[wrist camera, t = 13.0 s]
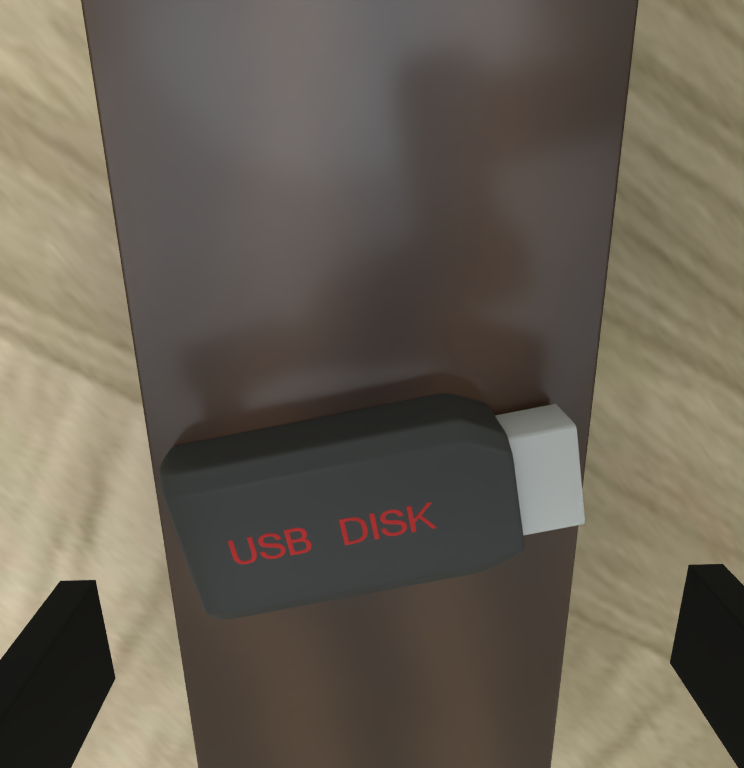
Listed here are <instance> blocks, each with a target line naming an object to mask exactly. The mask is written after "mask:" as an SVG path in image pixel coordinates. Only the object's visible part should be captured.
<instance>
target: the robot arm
mask: <svg viewBox="0 0 744 768" xmlns="http://www.w3.org/2000/svg"><path fill="white" fill-rule="evenodd" d="M670 664H671V665H672V667H673V668H674V670H675V671H676V673H677V674H678V676H679V677H680V679H681V680H682V682H683V683H684V685H685V687H686V688H687V690H688V691H689V693H690V694H691V696H692V697H693V699H694V700H695V702H696V703H697V705H698V707H699V708H700V710H701V711H702V713H703V714H704V716H705V717H706V719H707V720H708V722H709V723H710V725H711V726H712V728H713V730H714V731H715V733H716V734H717V736H718V737H719V739H720V740H721V742H722V743H723V745H724V746H725V748H726V749H727V751H728V753H729V754H730V756H731V757H732V759H733V760H734V762H735V763H736V765H737V766H738V768H744V586H743V584H742V583H741V582H740V581H739V580H738V579H737V578H736V577H735V576H734V575H733V574H732V573H731V572H730V571H729V570H728V569H727V568H726V567H725V566H724V565H723V564H704V565H689V566H688V571H687V577H686V582H685V587H684V592H683V597H682V603H681V608H680V613H679V618H678V623H677V629H676V634H675V639H674V644H673V650H672V655H671V660H670ZM114 680H115V674H114V669H113V664H112V659H111V654H110V649H109V644H108V639H107V634H106V629H105V625H104V620H103V615H102V610H101V605H100V600H99V595H98V590H97V585H96V580H79V581H60V582H59V583H58V585H57V586H56V587H55V589H54V590H53V591H52V593H51V594H50V595H49V597H48V598H47V599H46V600H45V602H44V603H43V604H42V606H41V607H40V608H39V610H38V611H37V612H36V614H35V615H34V616H33V618H32V619H31V620H30V622H29V623H28V624H27V625H26V627H25V628H24V629H23V631H22V632H21V633H20V635H19V636H18V637H17V639H16V640H15V641H14V643H13V644H12V645H11V647H10V648H9V649H8V650H7V652H6V653H5V654H4V656H3V657H2V658H1V660H0V768H71V767H72V765H73V763H74V761H75V759H76V757H77V755H78V753H79V751H80V749H81V746H82V744H83V742H84V740H85V738H86V736H87V734H88V732H89V730H90V728H91V726H92V724H93V722H94V720H95V718H96V716H97V714H98V712H99V710H100V708H101V706H102V704H103V702H104V700H105V698H106V696H107V694H108V692H109V690H110V688H111V686H112V684H113V682H114Z"/></svg>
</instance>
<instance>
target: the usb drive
mask: <svg viewBox="0 0 744 768" xmlns="http://www.w3.org/2000/svg"><path fill="white" fill-rule="evenodd" d="M159 473H160V480H161V489H162V496H163V500H164V503H165V505H166V508H167V511H168V514H169V517H170V519H171V522H172V525H173V528H174V530H175V533H176V536H177V539H178V542H179V544H180V547H181V550H182V553H183V556H184V558H185V561H186V564H187V567H188V569H189V572H190V575H191V578H192V581H193V583H194V586H195V589H196V592H197V595H198V597H199V600H200V603H201V606H202V608H203V610H204V611H205V612H206V613H207V614H209V615H210V616H211V617H213V618H214V619H233V618H239V617H246V616H251V615H257V614H262V613H267V612H273V611H278V610H283V609H289V608H294V607H299V606H305V605H310V604H315V603H321V602H326V601H331V600H337V599H342V598H348V597H353V596H358V595H364V594H369V593H374V592H380V591H385V590H390V589H396V588H401V587H406V586H412V585H417V584H422V583H428V582H433V581H438V580H444V579H449V578H454V577H460V576H465V575H470V574H475V573H480V572H483V571H486V570H488V569H491V568H493V567H495V566H497V565H499V564H501V563H503V562H505V561H507V560H509V559H511V558H513V557H515V556H517V555H519V554H521V553H522V551H523V550H524V549H525V545H524V536H523V535H529V534H534V533H539V532H544V531H550V530H555V529H560V528H566V527H571V526H576V525H582V524H585V517H584V505H583V494H582V483H581V471H580V460H579V449H578V437H577V428H576V425H575V423H574V422H573V421H572V420H571V419H570V418H569V417H568V416H567V415H566V414H565V413H564V412H563V411H562V410H561V409H560V408H559V407H558V406H557V405H556V404H552V405H547V406H542V407H536V408H531V409H526V410H521V411H516V412H511V413H506V414H501V415H494V413H493V411H492V410H491V408H490V407H489V405H488V404H487V403H484V402H480V401H477V400H473V399H469V398H465V397H462V396H458V395H454V394H450V393H444V394H437V395H431V396H426V397H421V398H416V399H411V400H406V401H401V402H396V403H391V404H386V405H380V406H375V407H370V408H365V409H360V410H355V411H350V412H345V413H340V414H335V415H330V416H325V417H320V418H314V419H309V420H304V421H299V422H294V423H289V424H284V425H279V426H274V427H269V428H264V429H259V430H254V431H248V432H243V433H238V434H233V435H228V436H223V437H218V438H213V439H208V440H203V441H198V442H193V443H188V444H183V445H179V446H175V447H173V448H171V449H170V450H169V452H168V453H167V455H166V456H165V458H164V459H163V461H162V463H161V466H160V469H159Z"/></svg>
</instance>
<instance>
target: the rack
mask: <svg viewBox="0 0 744 768" xmlns="http://www.w3.org/2000/svg"><path fill="white" fill-rule="evenodd" d="M81 3H82V9H83V16H84V22H85V29H86V35H87V42H88V48H89V55H90V61H91V68H92V75H93V81H94V88H95V94H96V101H97V107H98V114H99V120H100V127H101V134H102V140H103V147H104V153H105V160H106V166H107V173H108V179H109V186H110V192H111V199H112V206H113V212H114V219H115V225H116V232H117V238H118V245H119V251H120V258H121V264H122V271H123V278H124V284H125V291H126V297H127V304H128V310H129V317H130V323H131V330H132V336H133V343H134V350H135V356H136V363H137V369H138V376H139V382H140V389H141V395H142V402H143V408H144V415H145V422H146V428H147V435H148V441H149V448H150V454H151V461H152V467H153V474H154V480H155V487H156V494H157V500H158V507H159V513H160V520H161V526H162V533H163V539H164V546H165V553H166V559H167V566H168V572H169V579H170V585H171V592H172V598H173V605H174V611H175V618H176V625H177V631H178V638H179V644H180V651H181V657H182V664H183V670H184V677H185V683H186V690H187V697H188V703H189V710H190V716H191V723H192V729H193V736H194V742H195V749H196V755H197V762H198V768H551V759H552V750H553V742H554V733H555V724H556V715H557V707H558V698H559V689H560V680H561V672H562V663H563V654H564V645H565V637H566V628H567V619H568V611H569V602H570V593H571V584H572V576H573V567H574V558H575V549H576V541H577V532H578V525H576V526H571V527H566V528H560V529H555V530H550V531H544V532H539V533H534V534H529V535H523V536H524V545H525V549H524V550H523V551H522V553H521V554H519V555H517V556H515V557H513V558H511V559H509V560H507V561H505V562H503V563H501V564H499V565H497V566H495V567H493V568H491V569H488V570H486V571H483V572H480V573H475V574H470V575H465V576H460V577H454V578H449V579H444V580H438V581H433V582H428V583H422V584H417V585H412V586H406V587H401V588H396V589H390V590H385V591H380V592H374V593H369V594H364V595H358V596H353V597H348V598H342V599H337V600H331V601H326V602H321V603H315V604H310V605H305V606H299V607H294V608H289V609H283V610H278V611H273V612H267V613H262V614H257V615H251V616H246V617H239V618H233V619H214V618H213V617H211V616H210V615H209V614H207V613H206V612H205V611H204V610H203V608H202V606H201V603H200V600H199V597H198V595H197V592H196V589H195V586H194V583H193V581H192V578H191V575H190V572H189V569H188V567H187V564H186V561H185V558H184V556H183V553H182V550H181V547H180V544H179V542H178V539H177V536H176V533H175V530H174V528H173V525H172V522H171V519H170V517H169V514H168V511H167V508H166V505H165V503H164V500H163V496H162V489H161V480H160V473H159V469H160V466H161V463H162V461H163V459H164V458H165V456H166V455H167V453H168V452H169V450H170V449H171V448H173V447H175V446H179V445H183V444H188V443H193V442H198V441H203V440H208V439H213V438H218V437H223V436H228V435H233V434H238V433H243V432H248V431H254V430H259V429H264V428H269V427H274V426H279V425H284V424H289V423H294V422H299V421H304V420H309V419H314V418H320V417H325V416H330V415H335V414H340V413H345V412H350V411H355V410H360V409H365V408H370V407H375V406H380V405H386V404H391V403H396V402H401V401H406V400H411V399H416V398H421V397H426V396H431V395H437V394H444V393H450V394H454V395H458V396H462V397H465V398H469V399H473V400H477V401H480V402H484V403H487V404H488V405H489V407H490V408H491V410H492V411H493V413H494V415H501V414H506V413H511V412H516V411H521V410H526V409H531V408H536V407H542V406H547V405H552V404H556V405H557V406H558V407H559V408H560V409H561V410H562V411H563V412H564V413H565V414H566V415H567V416H568V417H569V418H570V419H571V420H572V421H573V422H574V423H575V425H576V428H577V437H578V449H579V460H580V471H581V483H582V488H583V479H584V471H585V462H586V453H587V444H588V436H589V427H590V418H591V409H592V401H593V392H594V383H595V374H596V366H597V357H598V348H599V340H600V331H601V322H602V313H603V305H604V296H605V287H606V278H607V270H608V261H609V252H610V243H611V235H612V226H613V217H614V208H615V200H616V191H617V182H618V173H619V165H620V156H621V147H622V138H623V130H624V121H625V112H626V103H627V95H628V86H629V77H630V68H631V60H632V51H633V42H634V34H635V25H636V16H637V7H638V0H81Z"/></svg>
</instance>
